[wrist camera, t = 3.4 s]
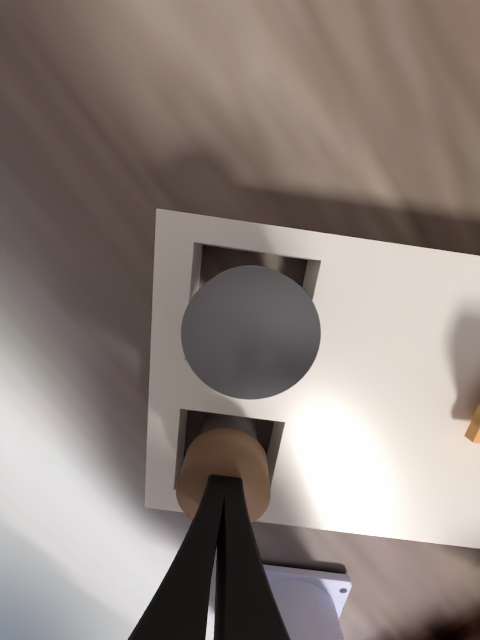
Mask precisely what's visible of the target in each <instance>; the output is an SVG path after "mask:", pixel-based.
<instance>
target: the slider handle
mask: <svg viewBox="0 0 480 640" xmlns="http://www.w3.org/2000/svg"><path fill="white" fill-rule="evenodd" d="M464 436H465V437H466V438H468V439H469V440H470V441H471V442H473V443H480V403H479V405H478V408H477V410H476V412H475V414H474V416H473V418H472V420H471V422H470V425H469V427H468V429H467V431H466V433H465V435H464Z"/></svg>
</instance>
